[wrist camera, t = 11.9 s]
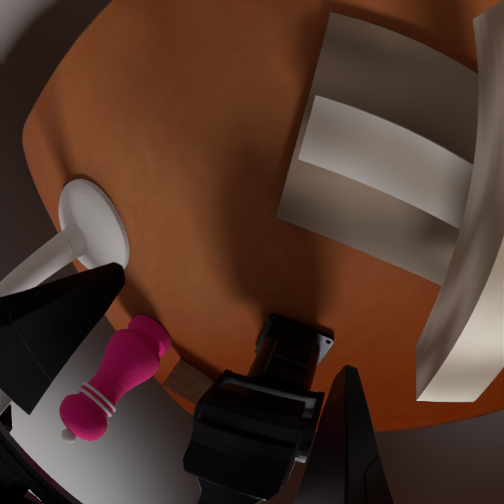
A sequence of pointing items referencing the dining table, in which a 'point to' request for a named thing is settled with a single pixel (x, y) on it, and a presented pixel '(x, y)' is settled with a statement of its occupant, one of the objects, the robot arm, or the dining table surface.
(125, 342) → the pepper mill
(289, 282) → the dining table surface
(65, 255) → the candlestick
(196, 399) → the wood plank
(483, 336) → the cream beige bar
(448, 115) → the ridge stand
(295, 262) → the dining table surface
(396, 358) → the dining table surface
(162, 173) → the dining table surface
